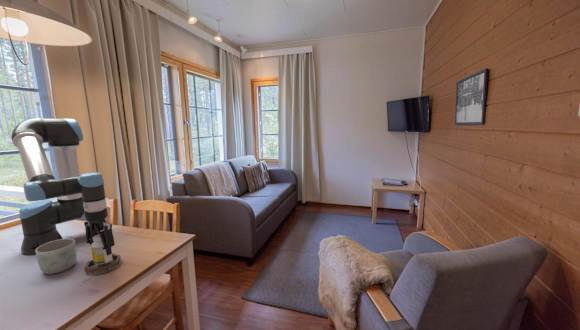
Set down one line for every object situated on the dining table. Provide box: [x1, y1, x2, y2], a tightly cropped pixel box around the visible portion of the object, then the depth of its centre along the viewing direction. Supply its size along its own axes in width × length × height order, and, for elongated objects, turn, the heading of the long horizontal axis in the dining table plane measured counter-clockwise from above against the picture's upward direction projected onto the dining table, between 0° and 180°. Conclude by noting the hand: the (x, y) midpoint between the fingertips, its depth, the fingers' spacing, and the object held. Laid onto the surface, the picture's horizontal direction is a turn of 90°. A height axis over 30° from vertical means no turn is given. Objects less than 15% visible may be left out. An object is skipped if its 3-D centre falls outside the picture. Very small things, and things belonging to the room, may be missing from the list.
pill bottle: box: [90, 234, 105, 264], centre depth 106 cm, size 6×6×12 cm
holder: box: [84, 253, 122, 276], centre depth 107 cm, size 12×12×3 cm
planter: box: [35, 238, 77, 275], centre depth 106 cm, size 12×12×11 cm
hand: (102, 259), depth 107 cm, fingers closed on pill bottle, 6 cm apart
